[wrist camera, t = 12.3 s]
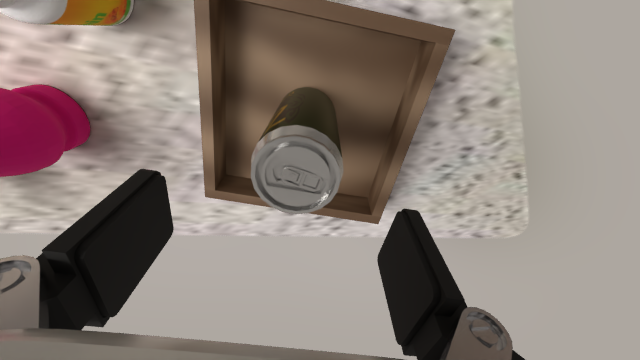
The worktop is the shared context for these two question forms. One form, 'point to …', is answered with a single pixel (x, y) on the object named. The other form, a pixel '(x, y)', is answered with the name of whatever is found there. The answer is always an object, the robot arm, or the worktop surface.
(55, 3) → the supplement bottle
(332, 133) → the beer can
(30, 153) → the pepper mill
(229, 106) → the box
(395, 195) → the worktop surface
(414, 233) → the robot arm
